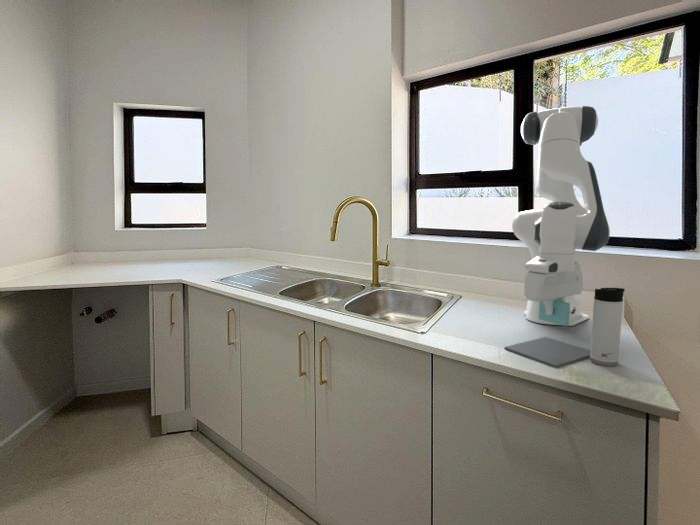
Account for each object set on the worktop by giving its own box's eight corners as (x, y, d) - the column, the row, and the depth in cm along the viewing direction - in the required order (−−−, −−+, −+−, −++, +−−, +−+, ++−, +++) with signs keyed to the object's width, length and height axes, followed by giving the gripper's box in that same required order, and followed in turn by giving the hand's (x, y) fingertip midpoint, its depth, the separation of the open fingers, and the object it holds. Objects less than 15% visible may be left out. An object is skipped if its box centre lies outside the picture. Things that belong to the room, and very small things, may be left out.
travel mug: (608, 368, 103) (614, 290, 100) (584, 359, 109) (589, 285, 106) (624, 364, 105) (631, 287, 102) (600, 356, 111) (605, 283, 108)
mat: (545, 338, 126) (545, 336, 126) (597, 354, 112) (598, 352, 112) (504, 349, 118) (504, 347, 118) (555, 367, 104) (556, 365, 104)
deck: (541, 318, 116) (542, 297, 115) (568, 325, 109) (569, 303, 108) (538, 319, 115) (539, 298, 114) (565, 325, 108) (566, 303, 108)
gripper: (569, 259, 118) (566, 306, 120) (520, 264, 108) (518, 316, 110) (591, 261, 112) (587, 311, 114) (542, 267, 103) (539, 321, 104)
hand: (553, 313), depth 112 cm, fingers closed on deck, 1 cm apart
